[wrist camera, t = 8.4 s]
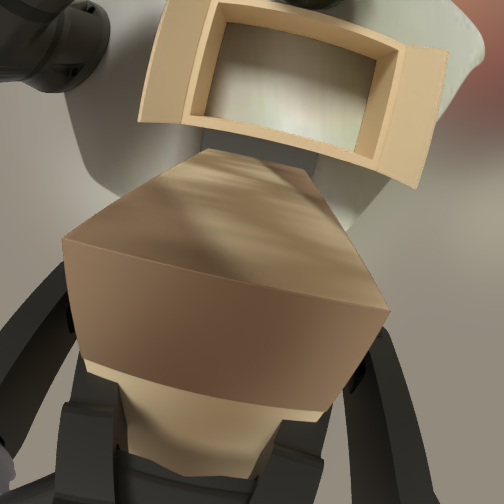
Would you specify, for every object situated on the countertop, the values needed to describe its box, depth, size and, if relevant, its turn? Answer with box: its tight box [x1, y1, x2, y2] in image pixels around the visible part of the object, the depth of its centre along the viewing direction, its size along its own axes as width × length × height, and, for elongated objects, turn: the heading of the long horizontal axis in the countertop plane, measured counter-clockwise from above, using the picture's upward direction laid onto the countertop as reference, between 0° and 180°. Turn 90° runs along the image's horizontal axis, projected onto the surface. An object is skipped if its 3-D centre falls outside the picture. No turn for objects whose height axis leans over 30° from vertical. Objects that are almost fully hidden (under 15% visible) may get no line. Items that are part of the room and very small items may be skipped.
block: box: [62, 148, 391, 479], centre depth 13 cm, size 6×10×14 cm, turn 168°
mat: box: [200, 128, 318, 179], centre depth 35 cm, size 14×10×1 cm
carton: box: [137, 0, 449, 189], centre depth 25 cm, size 26×15×12 cm, turn 78°
